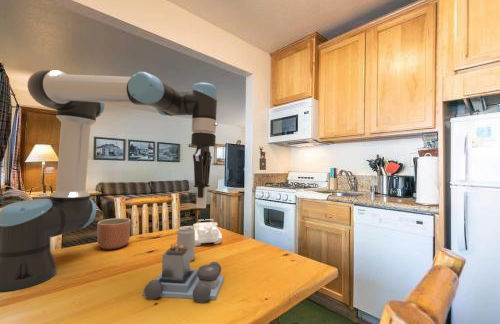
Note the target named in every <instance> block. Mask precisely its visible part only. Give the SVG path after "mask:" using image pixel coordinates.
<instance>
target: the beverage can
mask: <svg viewBox="0 0 500 324" xmlns="http://www.w3.org/2000/svg"><path fill="white" fill-rule="evenodd" d="M194 228H195V227H193V226H192V225H183V226H179V227H178V230H177V231H176V232H177V234H176V235H177V237H176V246H179V245H184V246H186V247H187V248H190V262H193V260H194V259H195V258H196V257H195V255H196V254H195V253H196V252H195V249H196V247H195V230H194Z"/></svg>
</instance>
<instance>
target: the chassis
mask: <svg viewBox="0 0 500 324" xmlns="http://www.w3.org/2000/svg"><path fill="white" fill-rule="evenodd" d="M208 265H216V266H218V267H219V276H218V277H217V278H216V279H213V280H202V279H199V278H198V269H194V268H193V269H191V268H190V278H189V279H188V280H187V282H186V283H185V284H180V283H162V272H161V273H160V274H159V275H158V276H157V277H156V278H155V279H152V280H151V281H149V282H148V283H147V284H146V285H145V287H144V289H143V291H142V293H141V294H142V296H144V297H145V298H146V299H148V300H151V301H154V300H157V299H158V298H173V299H174V298H175V299H188V300H189V299H190V300H191V299H192V300H195V302H197V303H201V304H202V303H205V302H207V301H216V300H217V299H218V295H219V293H220V290H221V288H222V285H223V283H224V280H225V275H222V274H221V272H222V266H221V265H220V263H219V262H216V261H212V262H210V263H209V264H208Z"/></svg>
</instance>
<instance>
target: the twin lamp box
mask: <svg viewBox="0 0 500 324" xmlns="http://www.w3.org/2000/svg"><path fill="white" fill-rule="evenodd" d="M161 257H162V258H161V259H162V260H161V263H162V265H161V273H162V283H180V284H185V283H186V282H187V280H188V279H189V278H190V269H191V261H190V248H187V247H186V246H184V245H179V246H177V244H175V243H174V244H170V247H169V248H168V249H167V250H166V251H165V252H164V253H163V254H162V256H161Z"/></svg>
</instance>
